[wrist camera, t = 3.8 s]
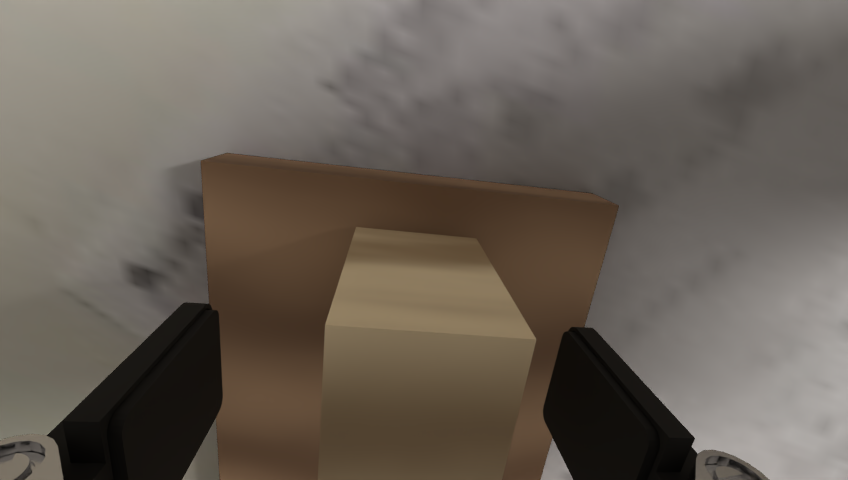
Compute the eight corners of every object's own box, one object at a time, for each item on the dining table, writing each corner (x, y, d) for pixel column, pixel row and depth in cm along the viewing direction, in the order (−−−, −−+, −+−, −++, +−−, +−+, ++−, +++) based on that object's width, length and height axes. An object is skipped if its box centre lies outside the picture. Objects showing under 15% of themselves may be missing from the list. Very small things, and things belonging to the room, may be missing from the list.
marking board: (226, 152, 14) (193, 163, 12) (592, 193, 16) (626, 209, 13) (243, 589, 22) (224, 647, 20) (488, 589, 23) (498, 643, 21)
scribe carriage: (356, 227, 13) (324, 324, 7) (476, 238, 13) (536, 339, 8) (346, 370, 15) (314, 540, 9) (452, 376, 15) (486, 542, 9)
